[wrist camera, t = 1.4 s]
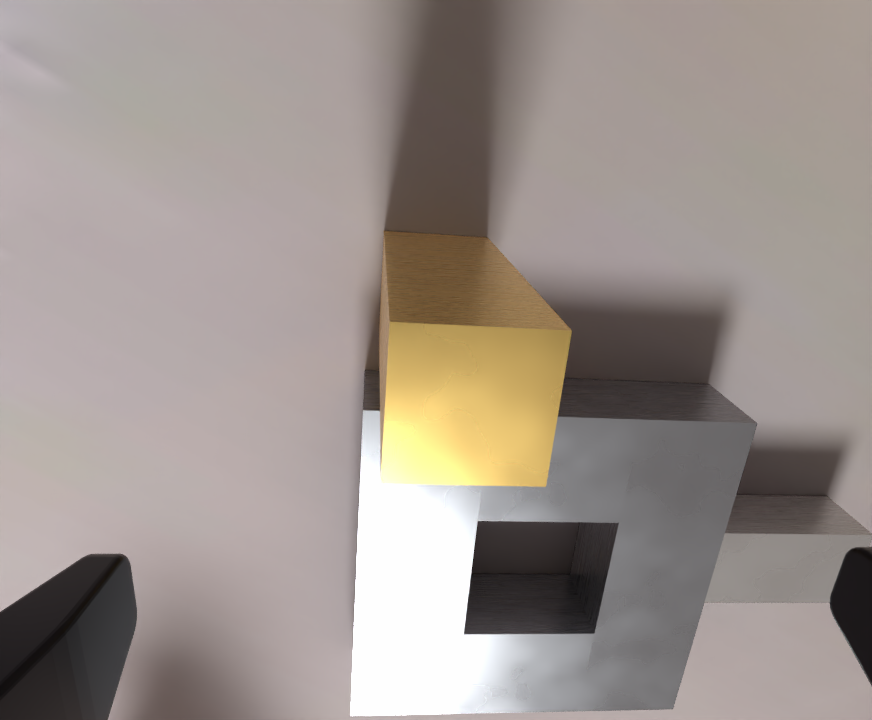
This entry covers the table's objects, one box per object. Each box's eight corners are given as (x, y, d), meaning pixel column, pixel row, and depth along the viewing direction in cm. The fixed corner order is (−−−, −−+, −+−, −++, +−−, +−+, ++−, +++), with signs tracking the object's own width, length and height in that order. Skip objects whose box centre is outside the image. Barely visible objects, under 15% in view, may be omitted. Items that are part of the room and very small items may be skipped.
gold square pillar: (487, 237, 19) (571, 330, 11) (476, 335, 20) (546, 486, 12) (384, 230, 19) (389, 321, 11) (379, 330, 20) (380, 483, 12)
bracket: (865, 390, 22) (934, 429, 20) (774, 644, 27) (820, 706, 24) (364, 370, 20) (362, 410, 18) (353, 648, 25) (350, 715, 22)
